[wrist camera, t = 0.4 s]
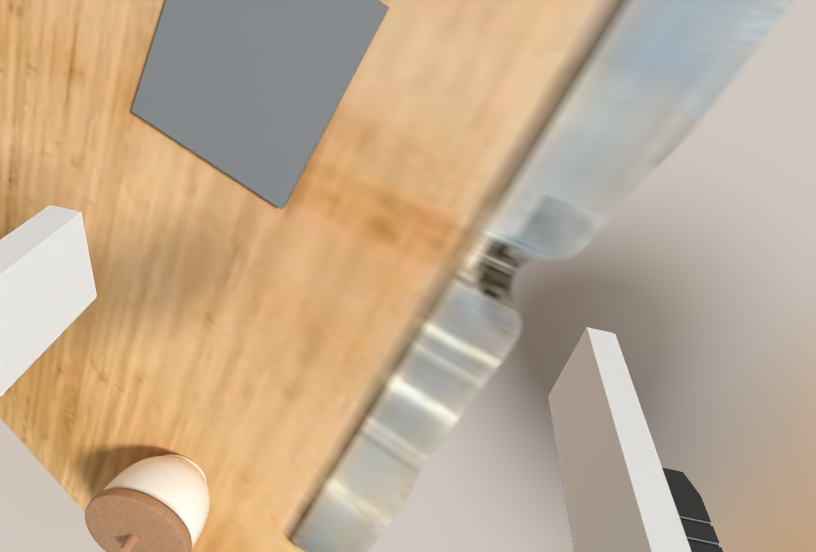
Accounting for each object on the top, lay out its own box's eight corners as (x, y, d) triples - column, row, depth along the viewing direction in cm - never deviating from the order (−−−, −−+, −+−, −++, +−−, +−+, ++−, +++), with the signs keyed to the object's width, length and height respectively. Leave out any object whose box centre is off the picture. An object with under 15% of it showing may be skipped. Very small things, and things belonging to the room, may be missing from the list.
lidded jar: (125, 432, 55) (54, 503, 47) (216, 442, 53) (159, 519, 45) (151, 503, 60) (91, 580, 51) (235, 515, 57) (188, 598, 49)
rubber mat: (211, -118, 31) (204, -122, 31) (388, 7, 32) (385, 6, 32) (138, 109, 39) (131, 111, 38) (285, 206, 40) (281, 209, 39)
